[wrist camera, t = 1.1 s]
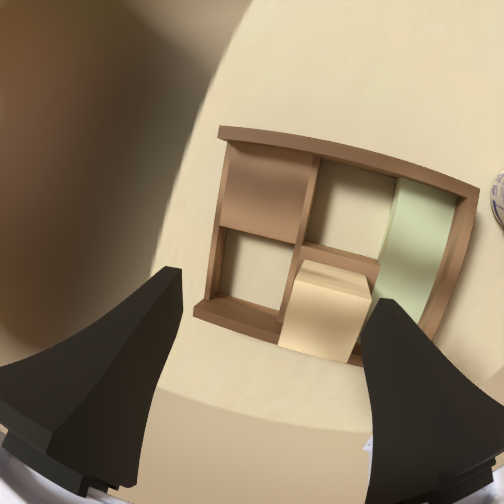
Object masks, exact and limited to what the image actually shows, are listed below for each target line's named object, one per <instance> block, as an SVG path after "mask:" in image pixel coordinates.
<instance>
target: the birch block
mask: <svg viewBox="0 0 504 504" xmlns="http://www.w3.org/2000/svg"><path fill="white" fill-rule="evenodd" d="M371 301H372V299H371V295H370V291H369V287H368V283H367V279H366V275H363V274H359V273H355V272H351V271H347V270H344V269H340V268H336V267H332V266H328V265H325V264H321V263H317V262H313V261H309V260H304V262H303V264H302V266H301V268H300V270H299V272H298V274H297V276H296V278H295V281H294V285H293V289H292V293H291V297H290V301H289V304H288V308H287V312H286V316H285V320H284V323H283V327H282V331H281V335H280V338H279V342H278V346H281V347H284V348H288V349H291V350H295V351H298V352H302V353H306V354H309V355H313V356H317V357H321V358H324V359H328V360H332V361H336V362H341V363H345V364H346V363H347V361H348V359H349V356H350V354H351V352H352V350H353V347H354V345H355V342H356V340H357V338H358V335H359V333H360V330H361V328H362V325H363V322H364V320H365V317H366V315H367V312H368V309H369V306H370V304H371Z"/></svg>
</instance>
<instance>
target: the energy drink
mask: <svg viewBox="0 0 504 504" xmlns="http://www.w3.org/2000/svg"><path fill="white" fill-rule="evenodd" d="M491 206H492V210H493V212H494V215H495V217H496V219H497V220H498V221H499V223H500V224H502V225H503V226H504V170H502V171H500V172H499V173H498V174H497V175H496V177H495V179H494V181H493V183H492V187H491Z"/></svg>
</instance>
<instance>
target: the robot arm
mask: <svg viewBox="0 0 504 504" xmlns="http://www.w3.org/2000/svg"><path fill="white" fill-rule="evenodd" d="M182 314H183V293H182V269H179V268H174V267H168V266H165V267H163V268H162V269H161V270H160V271H158V272H157V273H156V274H155V275H154V276H152V277H151V278H150V279H149V280H148V281H147V282H145V283H144V284H143V285H142V286H141V287H140V288H138V289H137V290H136V291H135V292H133V293H132V294H131V295H130V296H129V297H127V298H126V299H125V300H124V301H122V302H121V303H120V304H119V305H117V306H116V307H115V308H113V309H112V310H111V311H109V312H108V313H107V314H106V315H104V316H103V317H101V318H100V319H98V320H97V321H96V322H94V323H93V324H91V325H90V326H88V327H86V328H85V329H83V330H82V331H80V332H78V333H77V334H75V335H73V336H71V337H69V338H68V339H66V340H64V341H62V342H60V343H58V344H56V345H55V346H53V347H51V348H49V349H46V350H44V351H42V352H40V353H38V354H35V355H33V356H30V357H28V358H26V359H23V360H20V361H18V362H14V363H11V364H8V365H5V366H2V367H0V423H1V424H2V425H3V426H4V427H6V428H7V429H8V433H7V435H6V434H4V433H3V432H2V431H1V430H0V504H133V503H130V502H127V501H125V500H122V499H119V498H116V497H114V496H112V495H109V494H107V491H108V487H109V488H112V489H114V490H118V489H119V486H120V485H121V486H123V487H126V488H130V487H133V486H135V485H136V484H137V476H138V467H139V459H140V454H141V447H142V442H143V437H144V432H145V427H146V423H147V418H148V414H149V410H150V406H151V402H152V398H153V394H154V391H155V388H156V385H157V383H158V380H159V378H160V375H161V372H162V370H163V367H164V365H165V363H166V360H167V358H168V355H169V353H170V350H171V348H172V345H173V343H174V340H175V338H176V335H177V332H178V328H179V325H180V321H181V318H182ZM360 341H361V354H362V361H363V366H364V371H365V377H366V382H367V387H368V392H369V397H370V403H371V410H372V423H373V435H372V436H371V437H370V439H369V440H368V441H367V443H366V444H365V445H364V446H363V450H365V451H369V471H368V491H367V496H366V500H365V503H364V504H504V465H502V466H500V467H499V468H497V469H495V470H494V471H492V468H491V467H492V466H494V465H495V464H496V460H495V457H496V456H498V455H499V454H501V453H502V452H504V406H503V405H501V404H500V403H498V402H497V401H495V400H494V399H492V398H491V397H490V396H488V395H487V394H486V393H484V392H483V391H482V390H481V389H479V388H478V387H477V386H476V385H475V384H473V383H472V382H471V381H470V380H469V379H468V378H466V377H465V376H464V375H463V374H462V373H461V372H460V371H459V370H458V369H457V368H456V367H455V366H454V365H453V364H452V363H451V362H450V361H449V360H448V359H447V358H446V357H445V356H444V355H443V353H442V352H441V351H440V350H439V349H438V348H437V347H436V346H435V345H434V344H433V342H432V341H431V340H430V339H429V338H428V337H427V335H426V334H425V333H424V332H423V331H422V330H421V328H420V327H419V326H418V325H417V324H416V323H415V322H414V320H413V319H412V318H411V317H410V316H409V315H408V314H407V312H406V311H405V310H404V309H403V308H402V307H401V306H400V305H399V304H398V303H397V302H396V301H395V300H394V299H389V298H380V299H379V301H378V303H377V304H376V306H375V308H374V310H373V312H372V314H371V316H370V318H369V319H368V321H367V323H366V325H365V327H364V328H363V330H362V332H361V334H360Z"/></svg>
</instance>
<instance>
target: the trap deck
mask: <svg viewBox="0 0 504 504" xmlns="http://www.w3.org/2000/svg"><path fill="white" fill-rule="evenodd" d="M217 138H219V139H222V140H224V141H227V147H226V152H225V158H224V164H223V170H222V176H221V182H220V188H219V194H218V200H217V207H216V213H215V220H214V227H213V234H212V241H211V248H210V255H209V263H208V271H207V279H206V287H205V295H204V299H203V300H201V301H200V302H199V303H198V304H196V305H195V306H194V310H193V317H196V318H199V319H201V320H204V321H207V322H210V323H212V324H215V325H218V326H221V327H224V328H227V329H229V330H232V331H235V332H238V333H241V334H244V335H247V336H250V337H254V338H257V339H260V340H263V341H266V342H270V343H273V344H276V345H278V342H279V338H280V335H281V331H282V327H283V323H284V320H285V316H286V312H287V308H288V304H289V301H290V297H291V293H292V289H293V285H294V281H295V278H296V276H297V274H298V272H299V270H300V268H301V266H302V264H303V262H304V260H309V261H313V262H317V263H321V264H325V265H328V266H332V267H336V268H340V269H344V270H347V271H351V272H355V273H359V274H363V275H366V279H367V283H368V287H369V291H370V295H371V299H372V301H371V304H370V306H369V309H368V312H367V315H366V317H365V320H364V322H363V325H362V328H361V330H360V333H359V335H358V338H357V340H356V342H355V345H354V347H353V350H352V352H351V354H350V356H349V359H348V361H347V364H351V365H355V366H360V367H364V366H363V361H362V354H361V341H360V334H361V332H362V330H363V328H364V327H365V325H366V323H367V321H368V319H369V318H370V316H371V314H372V312H373V310H374V308H375V306H376V304H377V303H378V301H379V299H380V298H389V299H394V300H395V301H396V302H397V303H398V304H399V305H400V306H401V307H402V308H403V309H404V310H405V311H406V312H407V314H408V315H409V316H410V317H411V318H412V319H413V320H414V322H415V323H416V324H417V325H418V326H419V327H420V328H421V330H422V331H423V332H424V333H425V334H426V335H427V337H428V338H429V339H430V340H432V338H433V336H434V334H435V332H436V330H437V328H438V326H439V323H440V321H441V319H442V317H443V314H444V312H445V309H446V307H447V305H448V302H449V300H450V297H451V294H452V292H453V289H454V286H455V284H456V281H457V278H458V275H459V272H460V269H461V266H462V263H463V260H464V256H465V253H466V250H467V246H468V242H469V239H470V235H471V231H472V227H473V223H474V218H475V214H476V209H477V204H478V199H479V193H480V189H479V188H477V187H475V186H472V185H470V184H467V183H465V182H463V181H460V180H458V179H455V178H453V177H450V176H447V175H445V174H442V173H439V172H437V171H434V170H431V169H428V168H425V167H422V166H419V165H416V164H413V163H410V162H407V161H404V160H401V159H397V158H394V157H391V156H387V155H384V154H380V153H376V152H373V151H369V150H365V149H361V148H357V147H353V146H349V145H344V144H340V143H335V142H331V141H326V140H321V139H316V138H311V137H305V136H300V135H294V134H288V133H281V132H274V131H267V130H259V129H251V128H242V127H232V126H221V125H219V131H218V136H217ZM321 159H323V160H327V161H332V162H336V163H341V164H345V165H349V166H353V167H357V168H361V169H365V170H369V171H372V172H376V173H380V174H383V175H387V176H390V177H394V178H397V182H396V187H395V192H394V197H393V201H392V206H391V210H390V215H389V219H388V223H387V227H386V231H385V235H384V239H383V242H382V246H381V250H380V253H379V257H378V260H376V259H372V258H369V257H365V256H361V255H357V254H354V253H350V252H346V251H342V250H338V249H335V248H331V247H327V246H323V245H319V244H315V243H311V242H307V241H305V237H306V233H307V228H308V224H309V219H310V214H311V210H312V205H313V200H314V195H315V190H316V185H317V180H318V175H319V170H320V164H321ZM227 228H232V229H236V230H240V231H245V232H249V233H253V234H257V235H261V236H265V237H269V238H273V239H277V240H281V241H285V242H289V243H293V244H295V248H294V252H293V257H292V261H291V265H290V270H289V274H288V278H287V283H286V287H285V291H284V295H283V299H282V303H281V307H280V311H277V310H274V309H270V308H267V307H264V306H260V305H257V304H254V303H250V302H247V301H244V300H241V299H237V298H234V297H231V296H228V295H225V294H222V293H218V288H219V281H220V274H221V267H222V260H223V254H224V247H225V240H226V234H227Z"/></svg>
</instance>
